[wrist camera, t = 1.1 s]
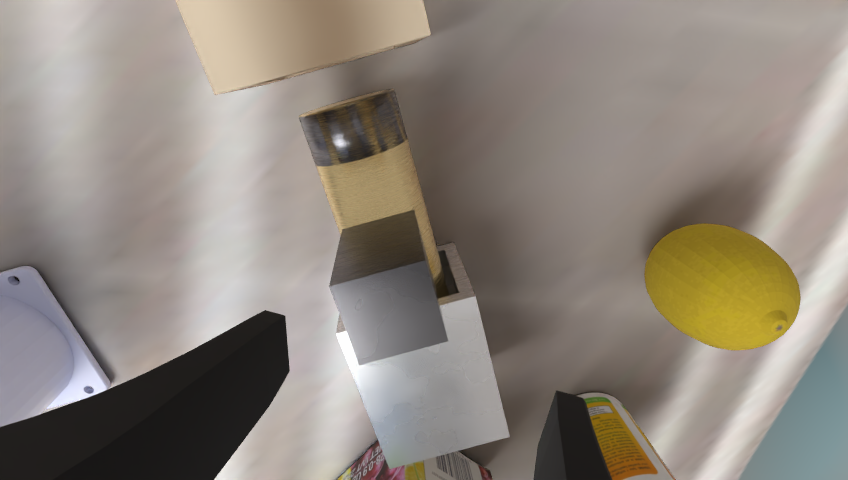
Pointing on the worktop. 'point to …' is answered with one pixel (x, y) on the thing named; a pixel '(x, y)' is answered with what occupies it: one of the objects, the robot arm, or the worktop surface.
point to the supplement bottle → (623, 441)
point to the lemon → (722, 286)
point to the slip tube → (377, 227)
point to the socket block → (294, 35)
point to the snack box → (415, 468)
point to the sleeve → (434, 383)
